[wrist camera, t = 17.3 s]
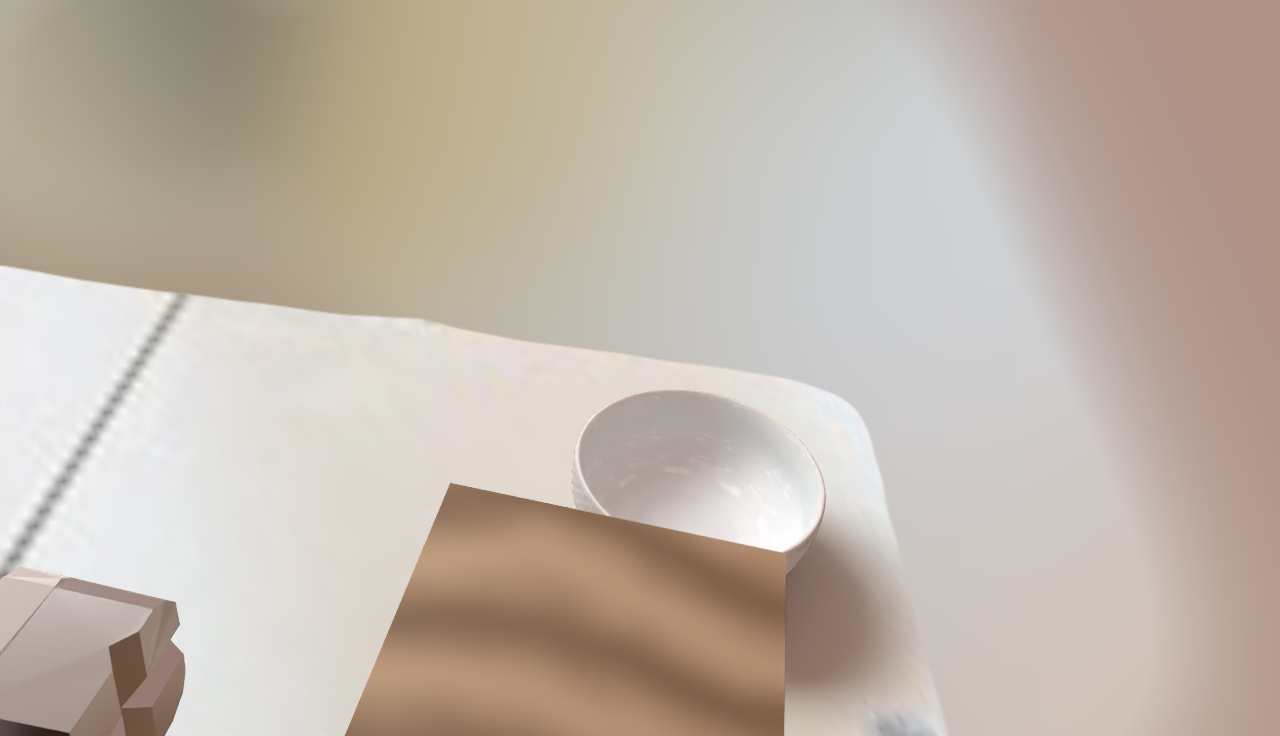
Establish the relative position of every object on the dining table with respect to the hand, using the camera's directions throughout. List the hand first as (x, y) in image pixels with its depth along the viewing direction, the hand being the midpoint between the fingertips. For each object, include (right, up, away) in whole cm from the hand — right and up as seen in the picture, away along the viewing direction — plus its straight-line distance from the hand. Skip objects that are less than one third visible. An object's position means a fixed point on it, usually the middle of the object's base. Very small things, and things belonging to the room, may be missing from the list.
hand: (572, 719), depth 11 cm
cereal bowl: (+4, -9, +63) cm, 63 cm away
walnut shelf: (-4, -22, +42) cm, 47 cm away
